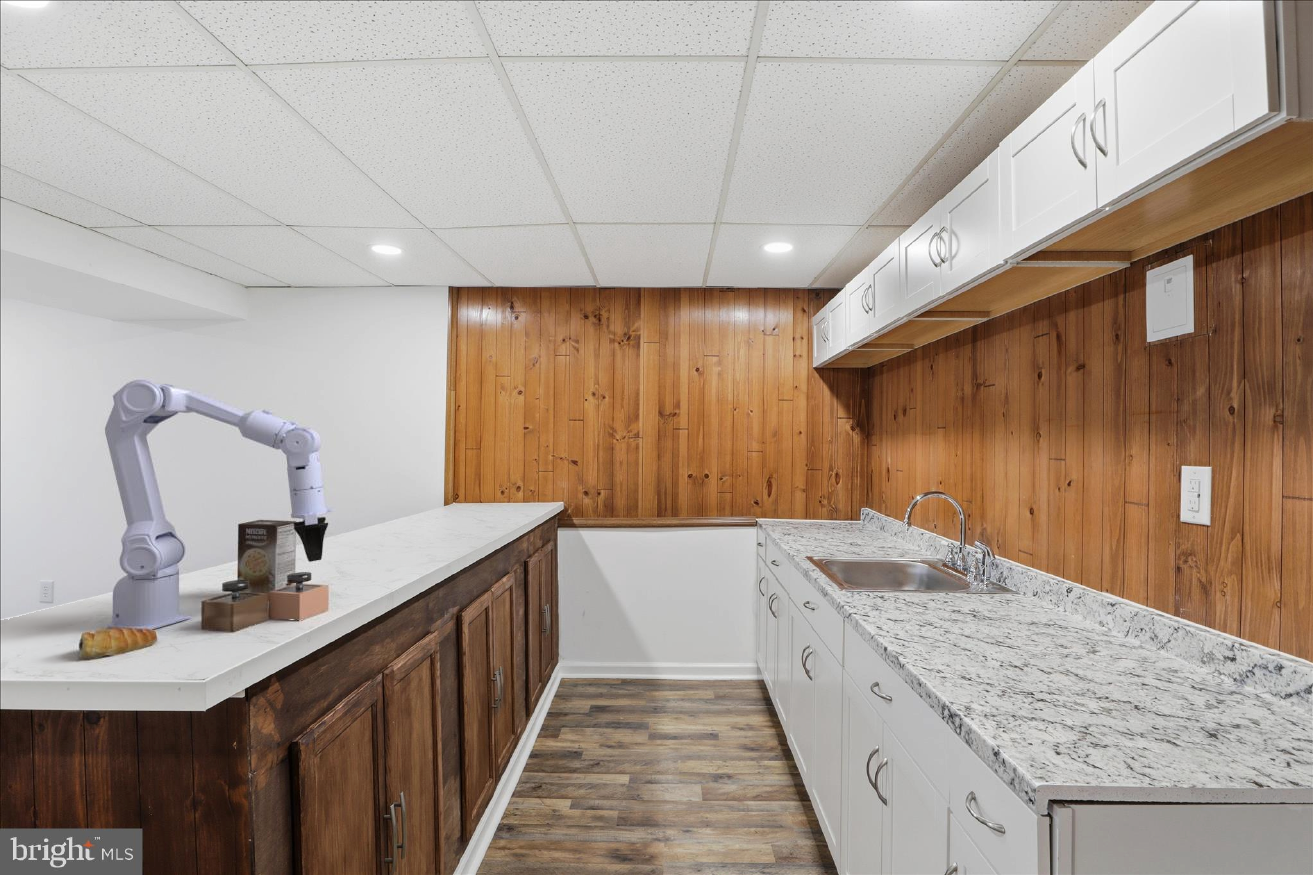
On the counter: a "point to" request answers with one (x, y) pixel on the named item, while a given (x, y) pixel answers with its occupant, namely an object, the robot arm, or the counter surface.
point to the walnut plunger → (235, 591)
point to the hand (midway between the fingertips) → (314, 557)
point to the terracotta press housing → (298, 602)
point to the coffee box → (266, 554)
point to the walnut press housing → (234, 612)
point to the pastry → (114, 641)
